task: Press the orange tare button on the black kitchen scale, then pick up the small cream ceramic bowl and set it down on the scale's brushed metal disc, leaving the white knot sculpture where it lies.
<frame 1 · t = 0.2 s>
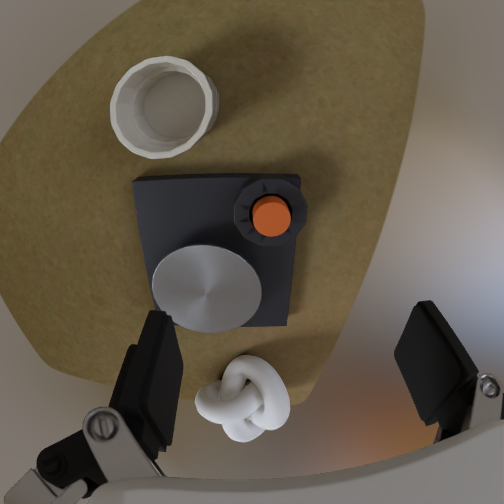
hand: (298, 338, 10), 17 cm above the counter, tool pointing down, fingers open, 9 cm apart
brushed metal disc: (209, 273, 28), resting on scale
white knot sculpture: (248, 370, 37), on the counter
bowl: (177, 105, 20), on the counter
scale: (218, 255, 27), on the counter
tare button: (271, 216, 22), point 3 cm above the counter, slide at 0.1 cm
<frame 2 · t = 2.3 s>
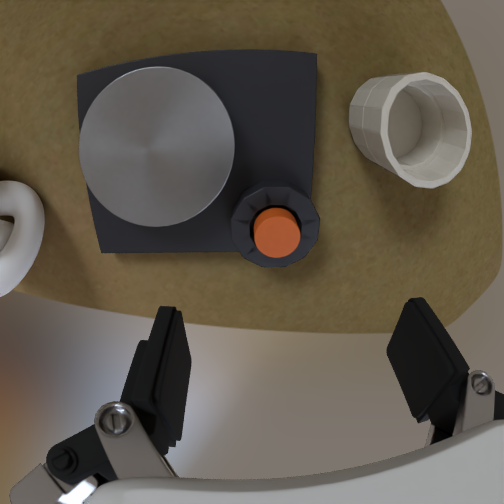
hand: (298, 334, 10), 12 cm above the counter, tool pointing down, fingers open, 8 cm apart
brushed metal disc: (164, 141, 18), resting on scale
white knot sculpture: (18, 208, 20), on the counter
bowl: (389, 121, 17), on the counter
scale: (192, 153, 19), on the counter
tare button: (276, 232, 18), point 3 cm above the counter, slide at 0.1 cm
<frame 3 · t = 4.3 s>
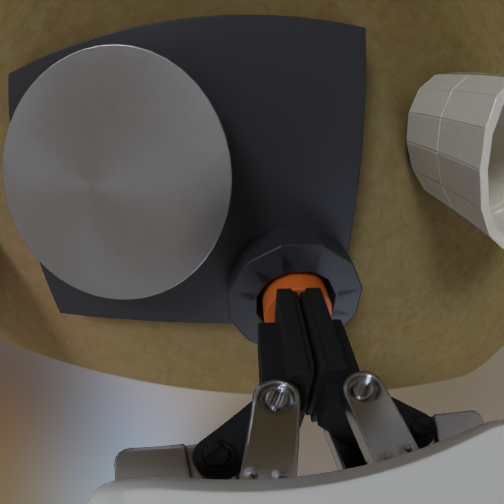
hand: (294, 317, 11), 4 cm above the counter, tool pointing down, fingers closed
brushed metal disc: (126, 163, 12), resting on scale
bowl: (453, 137, 11), on the counter
scale: (169, 181, 12), on the counter
tare button: (296, 304, 12), point 3 cm above the counter, slide at -0.3 cm, touching gripper
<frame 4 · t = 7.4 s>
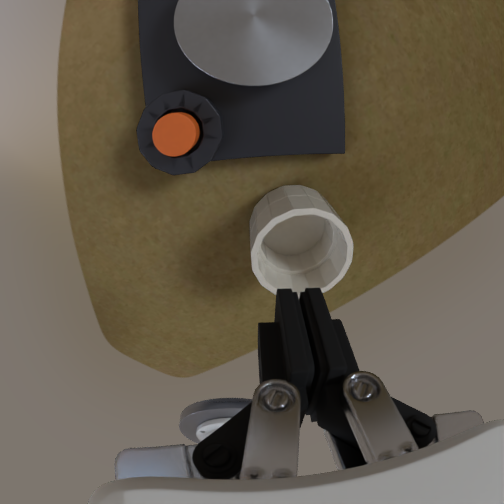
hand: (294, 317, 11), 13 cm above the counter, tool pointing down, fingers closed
brushed metal disc: (252, 28, 16), resting on scale
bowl: (291, 223, 24), on the counter
scale: (240, 52, 17), on the counter
tare button: (176, 133, 17), point 3 cm above the counter, slide at 0.1 cm
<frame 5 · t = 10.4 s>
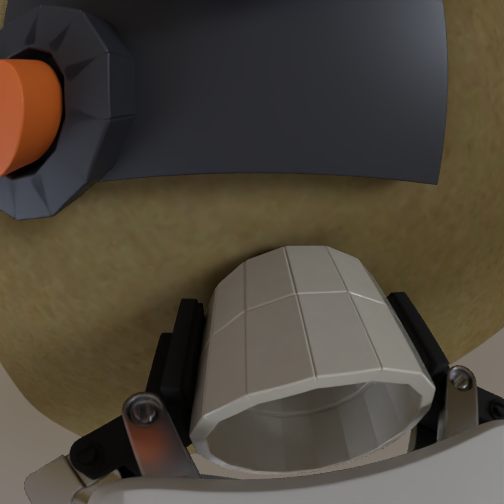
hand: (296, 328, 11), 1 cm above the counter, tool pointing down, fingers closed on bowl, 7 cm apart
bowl: (293, 315, 11), on the counter, touching gripper
tare button: (5, 116, 4), point 3 cm above the counter, slide at 0.1 cm
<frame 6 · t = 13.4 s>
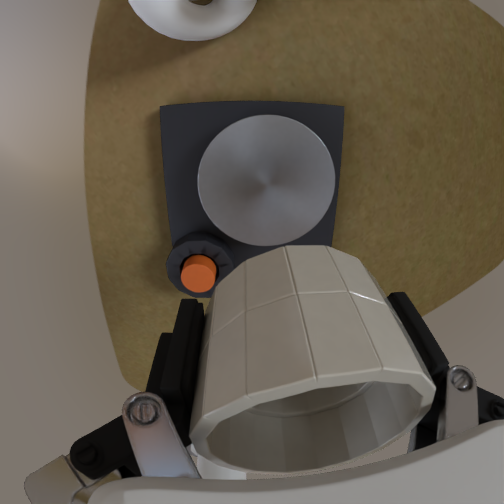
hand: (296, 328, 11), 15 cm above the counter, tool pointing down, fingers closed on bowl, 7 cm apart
brushed metal disc: (264, 173, 23), resting on scale
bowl: (294, 314, 11), point 15 cm above the counter, touching gripper
scale: (252, 195, 24), on the counter
tare button: (198, 273, 24), point 3 cm above the counter, slide at 0.1 cm
when the fingers open (4 cm above the counter, at t = 16.5 s): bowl stays where it is, resting on brushed metal disc.
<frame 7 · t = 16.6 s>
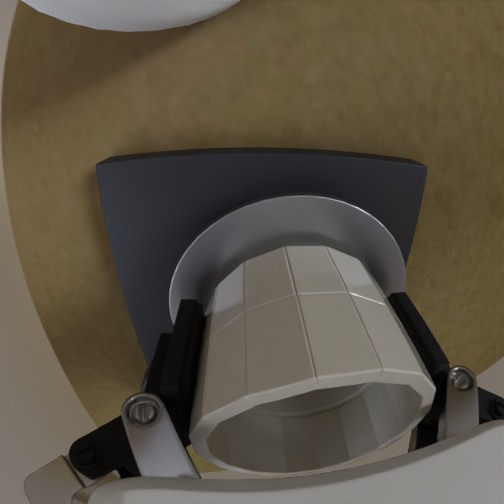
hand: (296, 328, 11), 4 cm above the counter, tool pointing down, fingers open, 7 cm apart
brushed metal disc: (283, 270, 14), resting on scale
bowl: (293, 315, 11), point 3 cm above the counter, touching brushed metal disc
scale: (262, 302, 15), on the counter
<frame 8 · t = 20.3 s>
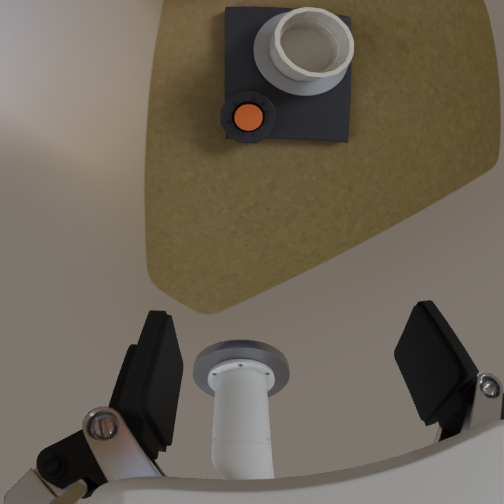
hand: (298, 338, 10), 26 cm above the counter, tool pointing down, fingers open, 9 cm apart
brushed metal disc: (297, 56, 26), resting on scale
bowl: (303, 51, 23), point 3 cm above the counter, touching brushed metal disc
scale: (288, 71, 27), on the counter
tare button: (248, 117, 27), point 3 cm above the counter, slide at 0.1 cm
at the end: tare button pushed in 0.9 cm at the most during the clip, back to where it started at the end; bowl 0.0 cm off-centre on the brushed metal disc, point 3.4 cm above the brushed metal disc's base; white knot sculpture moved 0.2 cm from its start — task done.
